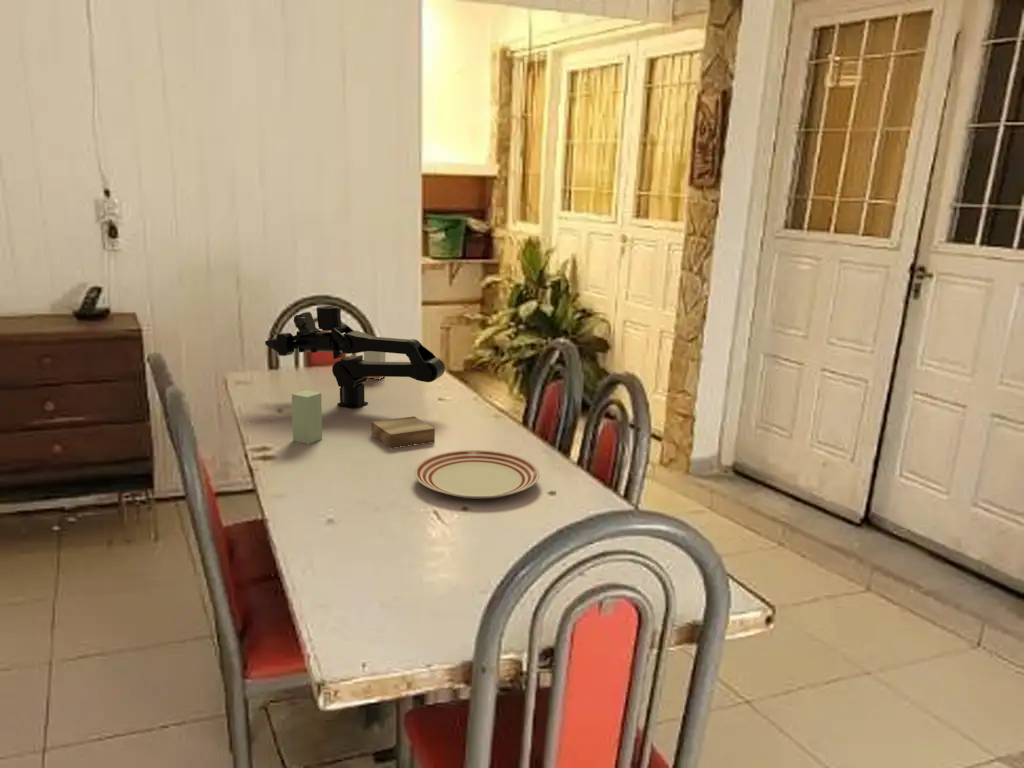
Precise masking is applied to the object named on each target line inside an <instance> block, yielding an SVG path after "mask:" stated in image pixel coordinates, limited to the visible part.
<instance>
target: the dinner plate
mask: <svg viewBox="0 0 1024 768" xmlns="http://www.w3.org/2000/svg"><path fill="white" fill-rule="evenodd" d="M413 474H414V477H415V479H416V481H417V482H419V483H420V484H421V485H423V486H424V487H426V488H427V489H430V490H432V491H434V492H436V493H437V492H438V493H442V494H445V495H449V496H453V497H457V498H464V499H473V500H475V499H477V500H478V499H479V500H480V499H483V500H484V499H494V498H495V499H496V498H503V497H507V496H511V495H514V494H515V495H516V494H518V493H520V492H523V491H525V490H528V489H529V488H531V487H532V486H534V485H535V484H536V483H537V482H538V481H539V479H540V476H541V474H540V470H539V468H538V467H537V466H536V465H535V464H534V463H532V462H531V461H530V460H528V459H526V458H524V457H521V456H519V455H516V454H512V453H507V452H504V451H503V452H501V451H494V450H485V449H484V450H483V449H481V450H480V449H468V450H467V449H465V450H463V449H462V450H454V451H447V452H443V453H442V452H441V453H438V454H435V455H431V456H429V457H427V458H425V459H424V460H422V461H420V462H419V463H418V464H417V465H416V467H415V469H414V471H413Z"/></svg>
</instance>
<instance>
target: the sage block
mask: <svg viewBox="0 0 1024 768" xmlns="http://www.w3.org/2000/svg"><path fill="white" fill-rule="evenodd" d="M291 408H292V409H291V411H292V412H291V416H292V417H291V418H292V441H293V440H294V441H293V442H296V441H298V442H297V443H301V442H302V443H301V444H305V443H306V445H311V444H313V443H316V442H318V441H317V440H319V441H321V440H323V422H322V421H323V419H322V418H323V417H322V415H323V414H322V409H323V408H322V393H321V392H316V391H313V390H308V389H307V390H306V389H305V390H302V391H298V392H295V393H291ZM320 439H321V440H320ZM315 441H316V442H315ZM312 442H313V443H312ZM310 443H311V444H310Z"/></svg>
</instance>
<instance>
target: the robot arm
mask: <svg viewBox="0 0 1024 768" xmlns="http://www.w3.org/2000/svg"><path fill="white" fill-rule="evenodd" d="M341 312H342V308H341V307H339V306H336V305H335V306H334V305H322V306H321V305H319V306H317V307H316V316H317V317H316V319H317V326H318V327H316V323H315V320H314V317H313V315H312V313H311V312H310V311H305V312H302V313H299V314H296V315H294V316H293V323H294V325H295V328H296V329H298V331H296V335H293V334H292V333H291V332H282V333H277V335H276V338H275V339H268V340H265V342H264V344H265V346H267V347H268V348H270V349H272V350H273V351H275V352H276V353H277V355H278V356H279V357H286V356H291V355H293V353H294V352H295V350H298V353H305V352H310V353H311V354H313V353H315V354H316V353H319V352H320V353H332V357H333V359H334V360H336V359H339V358H340V360H338V361H335V363H334V364H333V365H332V368H331V369H332V371H331V372H332V375H333V376H334V378H335V380H336V383H337V386H338V387H339V402H337V404H336V405H337V406H340V407H341V406H342V407H345V408H351V409H358V408H359V406H360V407H362V406H366V405H368V404H369V402H368V401H366V400H365V384H364V383H366V382H367V379H368V378H367V377H368V376H378V377H385V378H386V377H388V378H389V377H391V378H393V377H395V378H397V377H398V378H411V379H413V380H415V381H419V382H424V383H432V382H434V381H436V380H438V379H439V378H441V377H442V376H443V375H444V374H445V371H446V366H445V364H444V362H443V360H442V359H440V358H439V357H436V355H434V353H433V351H430V350H429V349H428V348H427V347H425V346H424V345H423V344H422V343H421V342H420V341H419V340H418V339H416V338H411V339H408V338H407V339H405V338H397V337H396V338H393V337H384V336H383V337H382V336H373V335H370V334H369V333H367V332H363V331H359V330H354V329H353V328H352V327H350V326H349V325H347V324H346V323H344V324H342V316H341V314H342V313H341ZM366 351H375V352H386V353H389V354H400V355H401V354H402V355H406V357H407V358H408V360H409V362H407V361H406V362H405V361H385V362H367V361H365V360H364V354H363V355H362V354H361V355H354V354H358V353H359V354H360V353H364V352H366ZM386 353H385V354H386ZM344 354H346V356H345V357H342V356H343V355H344Z"/></svg>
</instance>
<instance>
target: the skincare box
mask: <svg viewBox="0 0 1024 768" xmlns="http://www.w3.org/2000/svg"><path fill="white" fill-rule="evenodd" d="M363 360H365V361H367V362H386V352H375V351H366V352H363ZM369 378H374V379H373V380H376V379H381V378H383V377H378V376H368V377H367V379H369ZM383 379H384V378H383ZM381 380H382V379H381Z"/></svg>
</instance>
